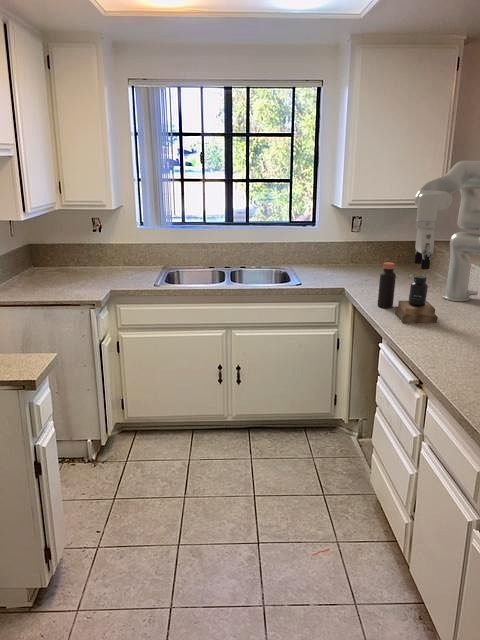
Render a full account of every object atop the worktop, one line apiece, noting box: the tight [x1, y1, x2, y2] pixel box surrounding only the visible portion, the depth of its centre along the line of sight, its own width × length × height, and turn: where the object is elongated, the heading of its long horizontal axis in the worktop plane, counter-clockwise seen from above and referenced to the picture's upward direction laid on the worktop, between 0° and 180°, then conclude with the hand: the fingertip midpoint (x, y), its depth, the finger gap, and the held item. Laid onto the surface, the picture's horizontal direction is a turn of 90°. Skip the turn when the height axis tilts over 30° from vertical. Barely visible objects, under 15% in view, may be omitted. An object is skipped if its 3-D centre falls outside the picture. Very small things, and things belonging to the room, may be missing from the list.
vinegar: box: [377, 261, 397, 309], centre depth 234 cm, size 7×7×20 cm
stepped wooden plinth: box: [394, 300, 438, 324], centre depth 219 cm, size 14×14×6 cm
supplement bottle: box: [408, 275, 429, 307], centre depth 217 cm, size 7×7×12 cm
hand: (421, 266), depth 214 cm, fingers open, 9 cm apart
